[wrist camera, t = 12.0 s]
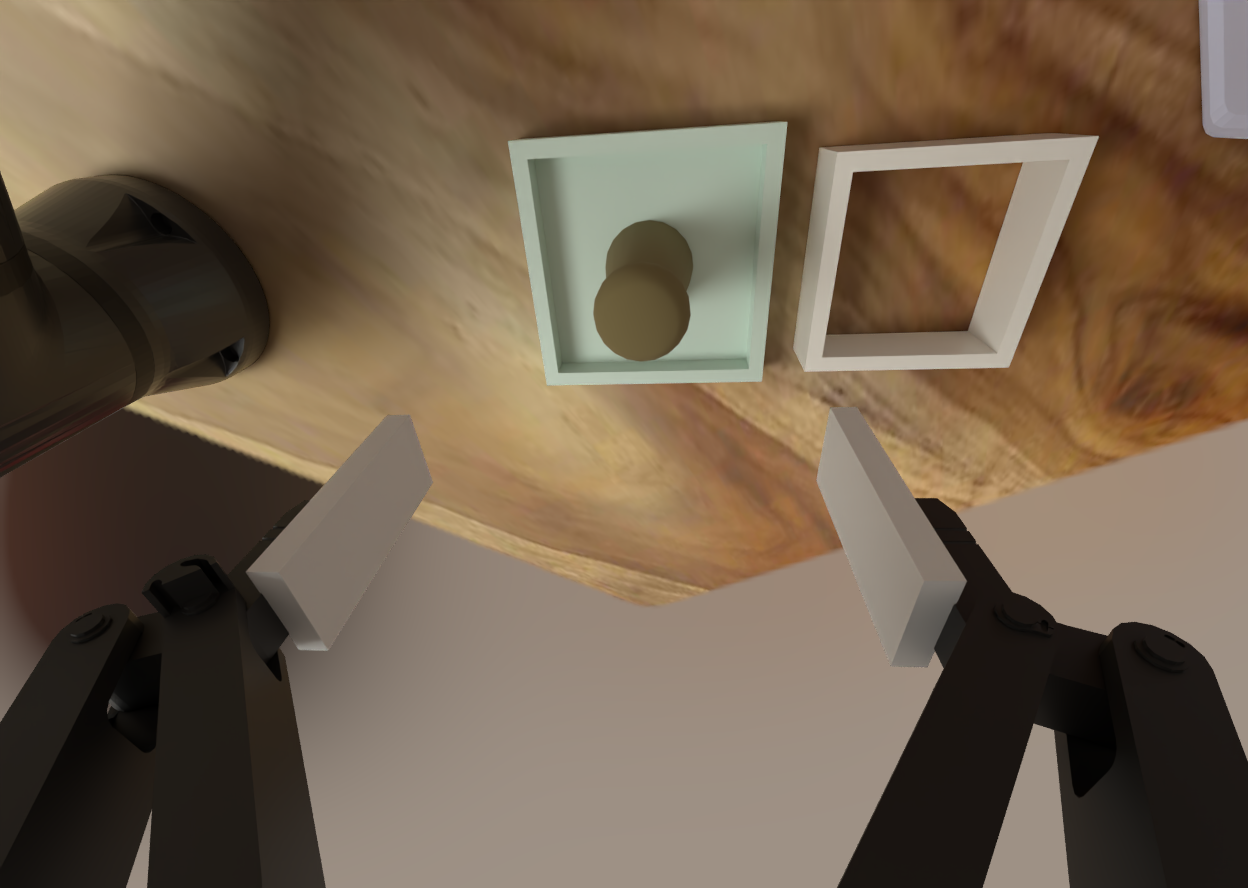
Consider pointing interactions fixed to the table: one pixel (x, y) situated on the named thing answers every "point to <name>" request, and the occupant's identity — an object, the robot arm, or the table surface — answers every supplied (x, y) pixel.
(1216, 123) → the soap bottle
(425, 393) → the table surface
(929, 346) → the frame
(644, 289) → the cork
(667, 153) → the tray
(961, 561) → the robot arm
